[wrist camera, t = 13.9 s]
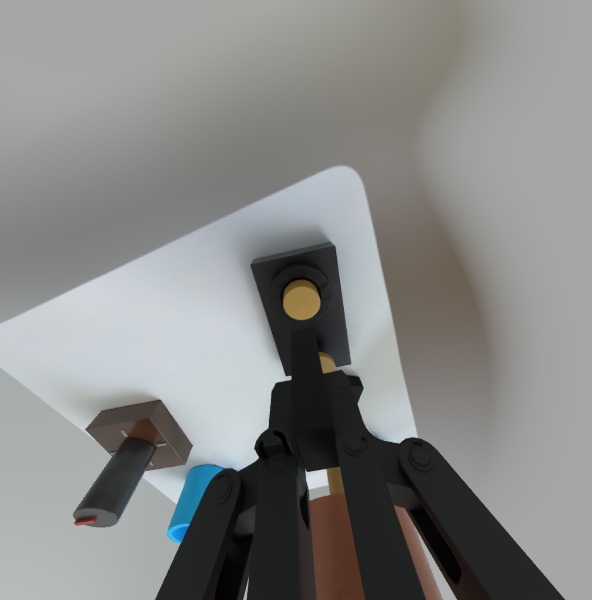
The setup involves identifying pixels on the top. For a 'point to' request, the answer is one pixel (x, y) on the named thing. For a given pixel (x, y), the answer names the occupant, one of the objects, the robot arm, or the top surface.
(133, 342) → the top surface
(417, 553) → the lamp
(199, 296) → the top surface
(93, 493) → the dimmer
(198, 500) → the mug
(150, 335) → the top surface
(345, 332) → the lamp base
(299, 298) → the switch
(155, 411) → the dimmer panel
